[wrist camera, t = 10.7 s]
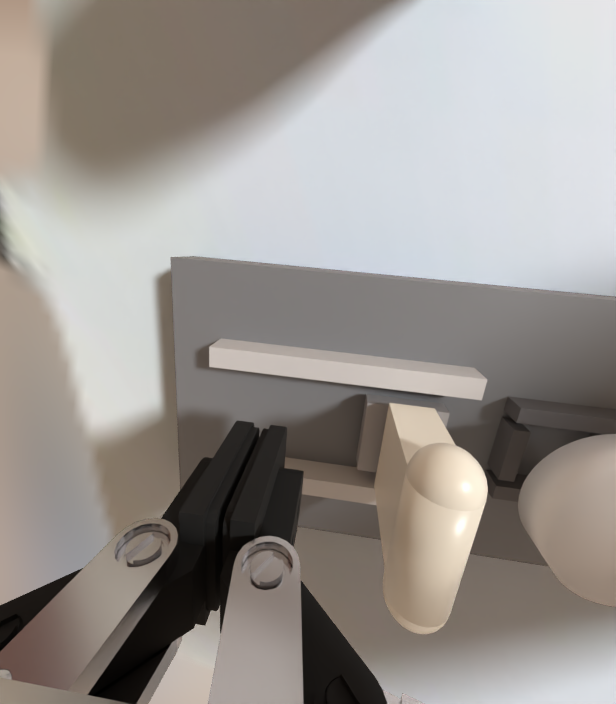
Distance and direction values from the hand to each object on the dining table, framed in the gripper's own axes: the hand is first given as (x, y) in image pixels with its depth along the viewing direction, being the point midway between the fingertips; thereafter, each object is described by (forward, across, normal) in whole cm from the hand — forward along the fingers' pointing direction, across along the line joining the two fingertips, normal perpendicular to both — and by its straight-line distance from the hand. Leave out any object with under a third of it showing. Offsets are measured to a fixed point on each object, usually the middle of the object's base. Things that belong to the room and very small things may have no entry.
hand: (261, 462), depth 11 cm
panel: (+5, -9, 0) cm, 10 cm away
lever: (+3, -5, 0) cm, 6 cm away
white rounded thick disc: (+1, -11, 0) cm, 11 cm away
